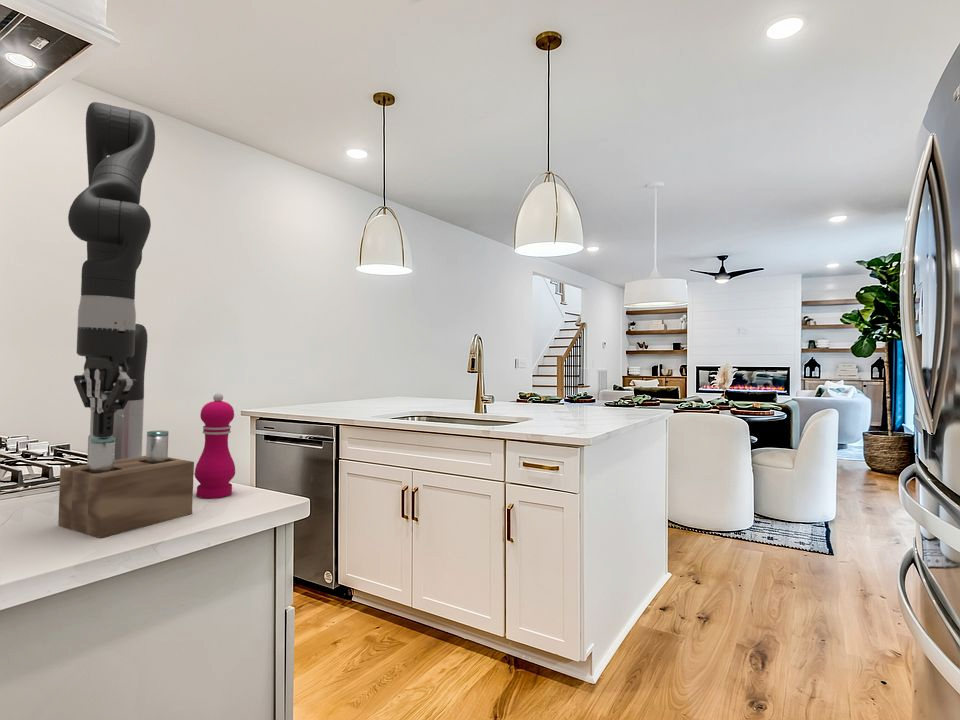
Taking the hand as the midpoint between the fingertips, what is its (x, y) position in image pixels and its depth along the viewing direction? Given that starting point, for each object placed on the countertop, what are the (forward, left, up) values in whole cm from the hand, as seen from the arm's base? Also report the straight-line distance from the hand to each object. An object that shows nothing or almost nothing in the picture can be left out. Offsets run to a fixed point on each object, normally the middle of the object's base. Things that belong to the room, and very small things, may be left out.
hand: (103, 436), depth 85 cm
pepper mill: (-2, +23, -14) cm, 27 cm away
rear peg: (0, +9, -9) cm, 13 cm away
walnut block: (0, +5, -14) cm, 15 cm away
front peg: (0, 0, -9) cm, 9 cm away
